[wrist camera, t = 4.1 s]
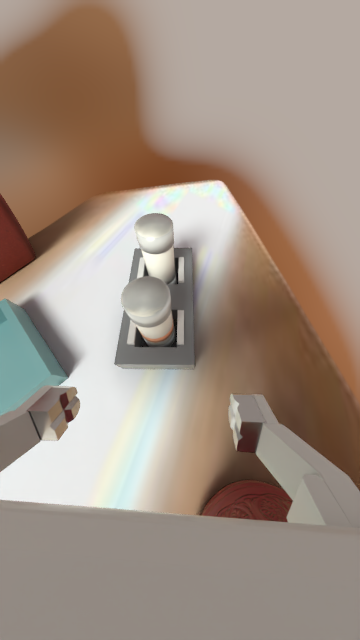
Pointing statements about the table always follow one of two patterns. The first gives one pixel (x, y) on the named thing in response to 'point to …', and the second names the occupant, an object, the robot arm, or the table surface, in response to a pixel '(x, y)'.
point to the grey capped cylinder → (150, 310)
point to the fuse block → (182, 311)
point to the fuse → (157, 246)
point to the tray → (23, 359)
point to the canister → (250, 502)
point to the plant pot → (12, 243)
